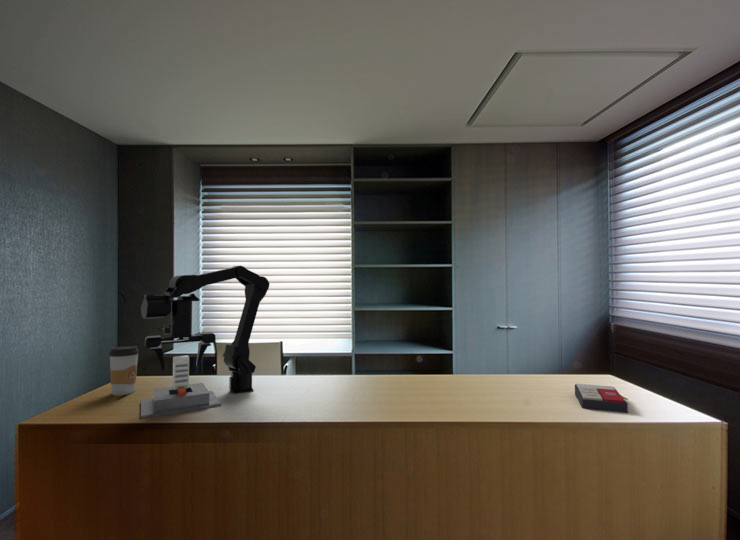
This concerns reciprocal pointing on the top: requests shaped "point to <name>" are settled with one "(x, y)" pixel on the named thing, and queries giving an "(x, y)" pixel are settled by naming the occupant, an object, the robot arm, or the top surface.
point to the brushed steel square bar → (180, 372)
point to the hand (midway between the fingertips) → (180, 368)
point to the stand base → (178, 400)
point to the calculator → (600, 398)
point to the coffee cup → (123, 369)
